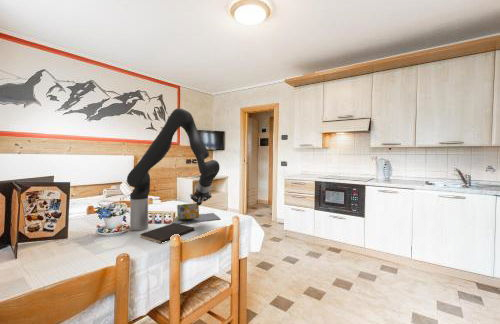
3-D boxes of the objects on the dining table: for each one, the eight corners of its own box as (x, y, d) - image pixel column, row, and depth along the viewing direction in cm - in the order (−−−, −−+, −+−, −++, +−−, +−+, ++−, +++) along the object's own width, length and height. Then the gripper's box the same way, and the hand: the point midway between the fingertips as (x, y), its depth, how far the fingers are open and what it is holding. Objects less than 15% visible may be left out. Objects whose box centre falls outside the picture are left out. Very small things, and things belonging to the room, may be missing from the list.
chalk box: (185, 204, 147) (174, 204, 157) (186, 219, 146) (174, 219, 156) (199, 202, 153) (187, 203, 164) (199, 217, 152) (187, 217, 162)
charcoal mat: (172, 225, 146) (172, 224, 146) (169, 218, 160) (169, 217, 160) (220, 219, 158) (220, 218, 158) (213, 213, 173) (213, 212, 173)
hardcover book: (139, 238, 125) (139, 234, 125) (174, 226, 145) (174, 222, 144) (161, 245, 117) (161, 240, 117) (194, 231, 137) (194, 227, 136)
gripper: (213, 181, 143) (208, 198, 154) (191, 182, 137) (186, 199, 149) (216, 191, 138) (210, 208, 150) (192, 193, 133) (188, 210, 144)
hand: (198, 204), depth 149 cm, fingers closed
